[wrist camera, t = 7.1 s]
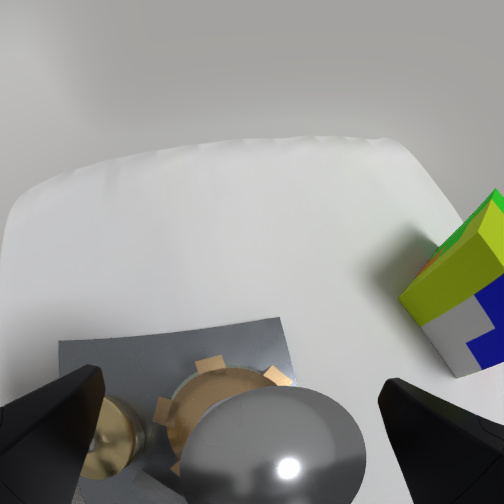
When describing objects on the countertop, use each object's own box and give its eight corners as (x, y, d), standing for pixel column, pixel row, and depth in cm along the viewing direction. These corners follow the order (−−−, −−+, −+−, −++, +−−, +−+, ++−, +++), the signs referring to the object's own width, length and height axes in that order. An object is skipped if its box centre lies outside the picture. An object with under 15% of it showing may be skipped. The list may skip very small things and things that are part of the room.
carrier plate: (334, 476, 13) (376, 492, 9) (93, 506, 9) (59, 530, 5) (293, 317, 19) (320, 286, 14) (65, 344, 15) (24, 319, 11)
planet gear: (309, 457, 13) (465, 498, 3) (191, 494, 11) (167, 625, 1) (266, 347, 16) (363, 234, 6) (148, 378, 14) (33, 311, 4)
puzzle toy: (456, 378, 17) (544, 342, 9) (397, 298, 21) (477, 231, 12) (487, 313, 22) (550, 269, 13) (438, 247, 25) (495, 187, 17)
